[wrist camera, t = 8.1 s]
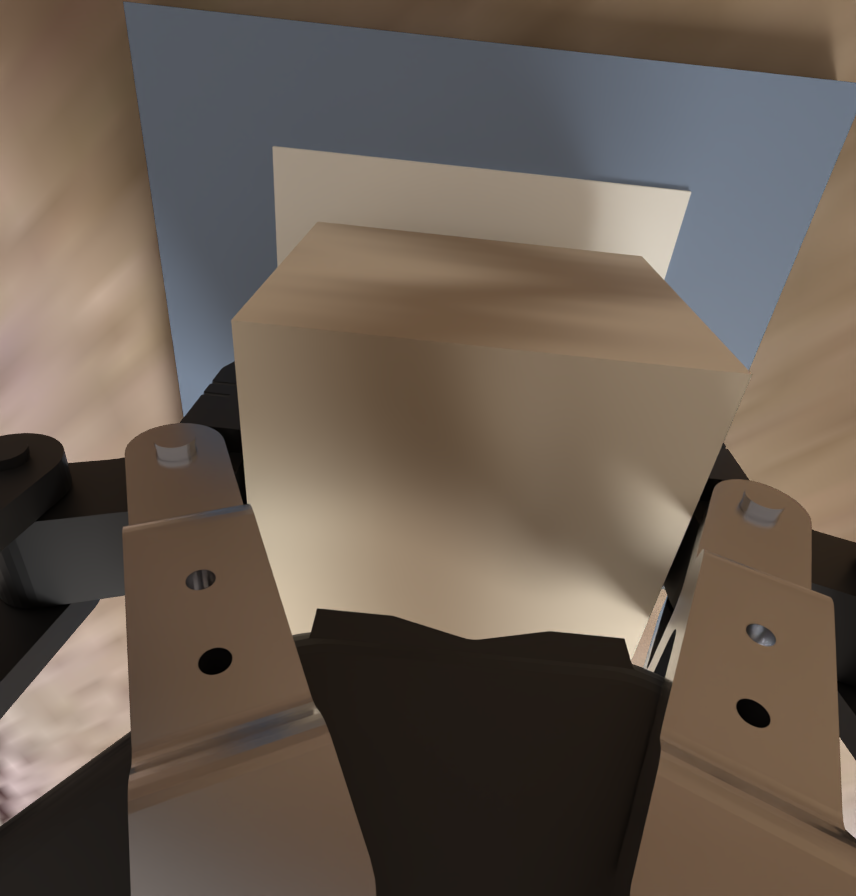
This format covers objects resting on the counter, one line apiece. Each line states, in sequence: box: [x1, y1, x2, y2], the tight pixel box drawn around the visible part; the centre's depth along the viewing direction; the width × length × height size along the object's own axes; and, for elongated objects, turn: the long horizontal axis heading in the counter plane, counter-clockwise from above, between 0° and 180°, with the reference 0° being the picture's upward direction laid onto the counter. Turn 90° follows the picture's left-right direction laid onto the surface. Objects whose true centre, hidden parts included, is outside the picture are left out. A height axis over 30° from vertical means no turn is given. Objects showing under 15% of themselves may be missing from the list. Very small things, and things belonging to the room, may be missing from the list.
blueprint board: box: [123, 2, 856, 417], centre depth 18 cm, size 13×26×1 cm, turn 175°
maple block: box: [231, 222, 752, 660], centre depth 11 cm, size 6×6×5 cm
